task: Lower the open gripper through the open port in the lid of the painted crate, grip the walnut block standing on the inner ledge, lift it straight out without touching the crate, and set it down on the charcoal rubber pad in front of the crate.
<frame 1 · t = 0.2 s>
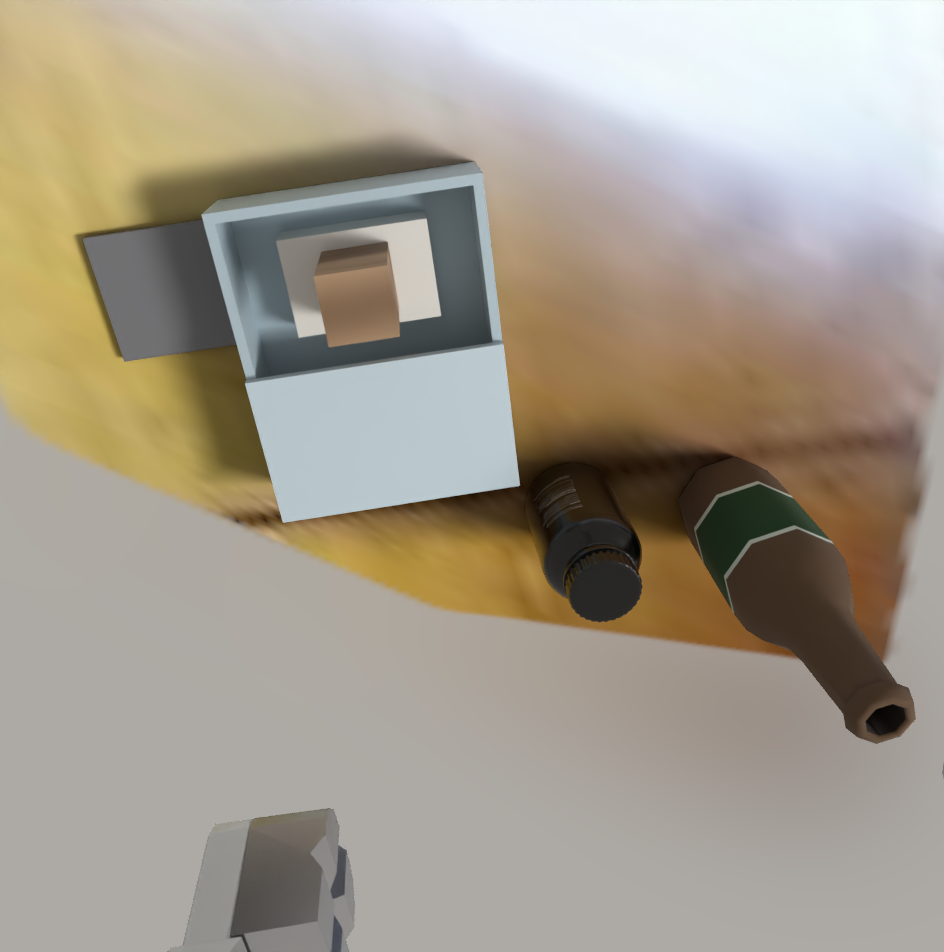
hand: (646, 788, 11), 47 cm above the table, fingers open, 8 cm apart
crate: (375, 335, 56), on the table
beer bottle: (723, 497, 65), on the table
pad: (168, 290, 54), on the table
supplement bottle: (568, 498, 64), on the table
walnut block: (361, 279, 51), point 3 cm above the table, touching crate
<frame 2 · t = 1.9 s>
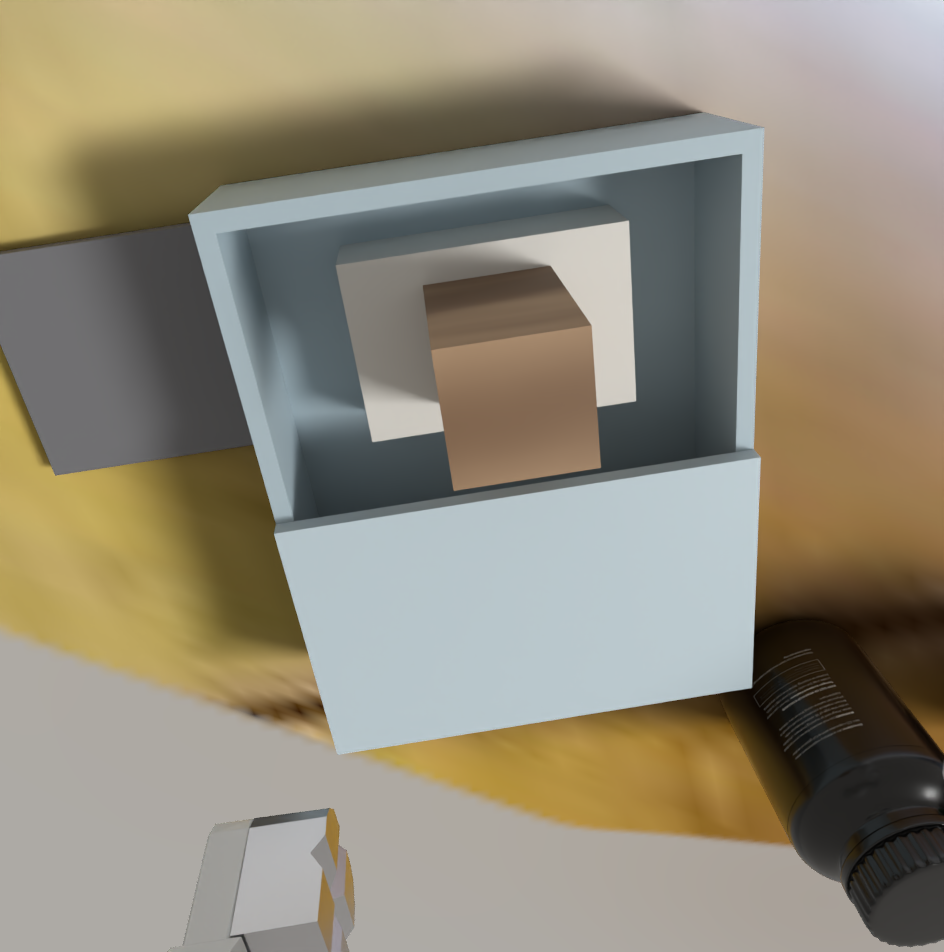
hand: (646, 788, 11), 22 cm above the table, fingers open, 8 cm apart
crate: (498, 424, 32), on the table
pad: (132, 351, 30), on the table
supplement bottle: (785, 669, 40), on the table
walnut block: (494, 337, 27), point 3 cm above the table, touching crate
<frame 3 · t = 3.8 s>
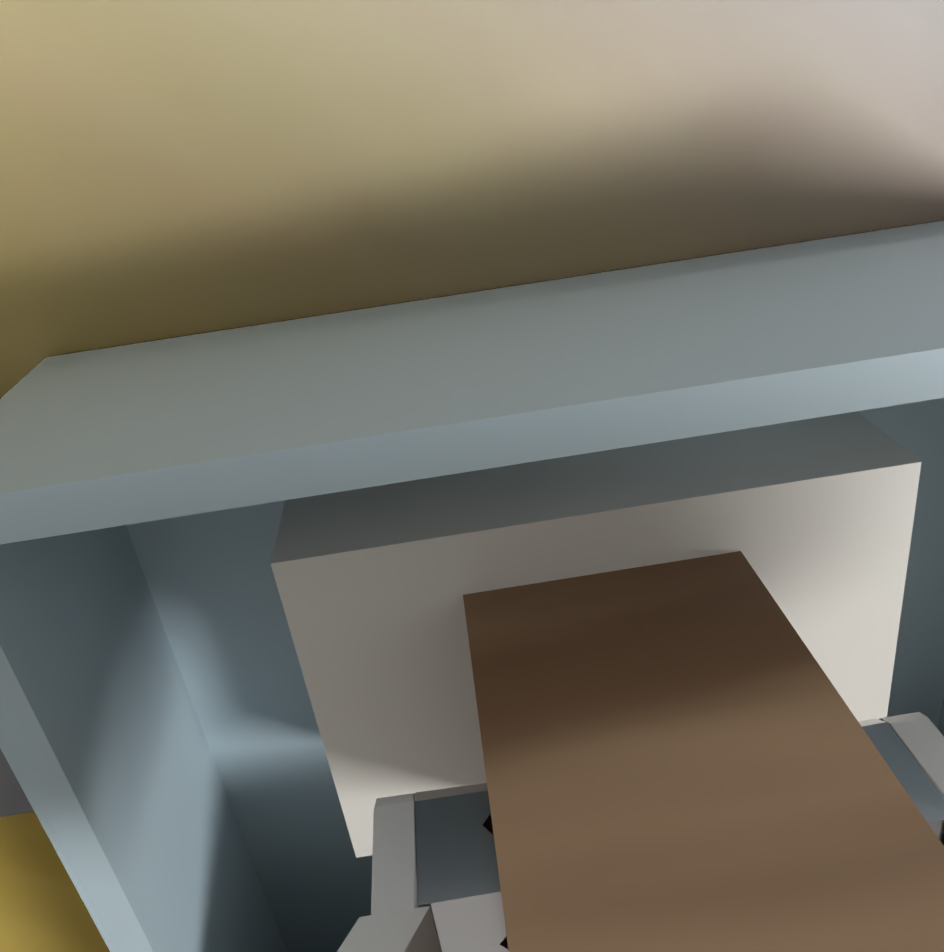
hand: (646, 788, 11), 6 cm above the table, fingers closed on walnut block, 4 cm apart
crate: (583, 737, 18), on the table
walnut block: (609, 680, 13), point 3 cm above the table, touching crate, gripper
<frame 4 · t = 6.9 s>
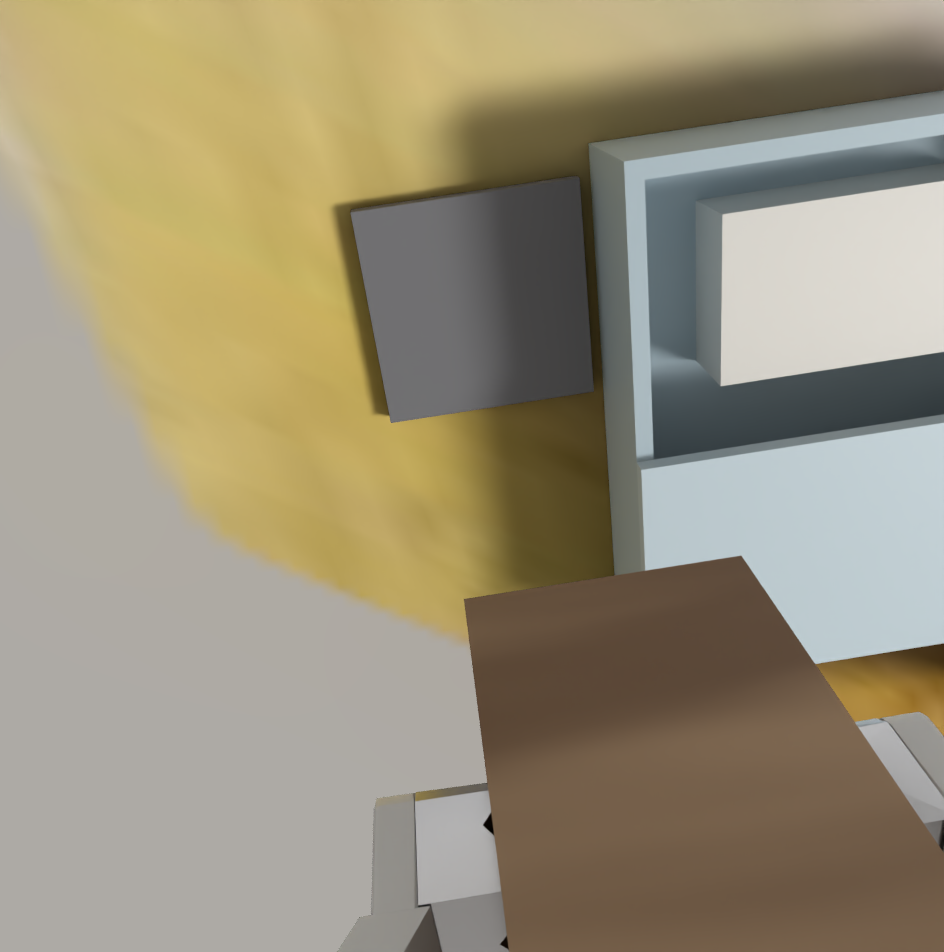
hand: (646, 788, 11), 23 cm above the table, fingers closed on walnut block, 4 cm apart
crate: (799, 376, 34), on the table
pad: (478, 303, 31), on the table
walnut block: (610, 684, 13), point 21 cm above the table, touching gripper
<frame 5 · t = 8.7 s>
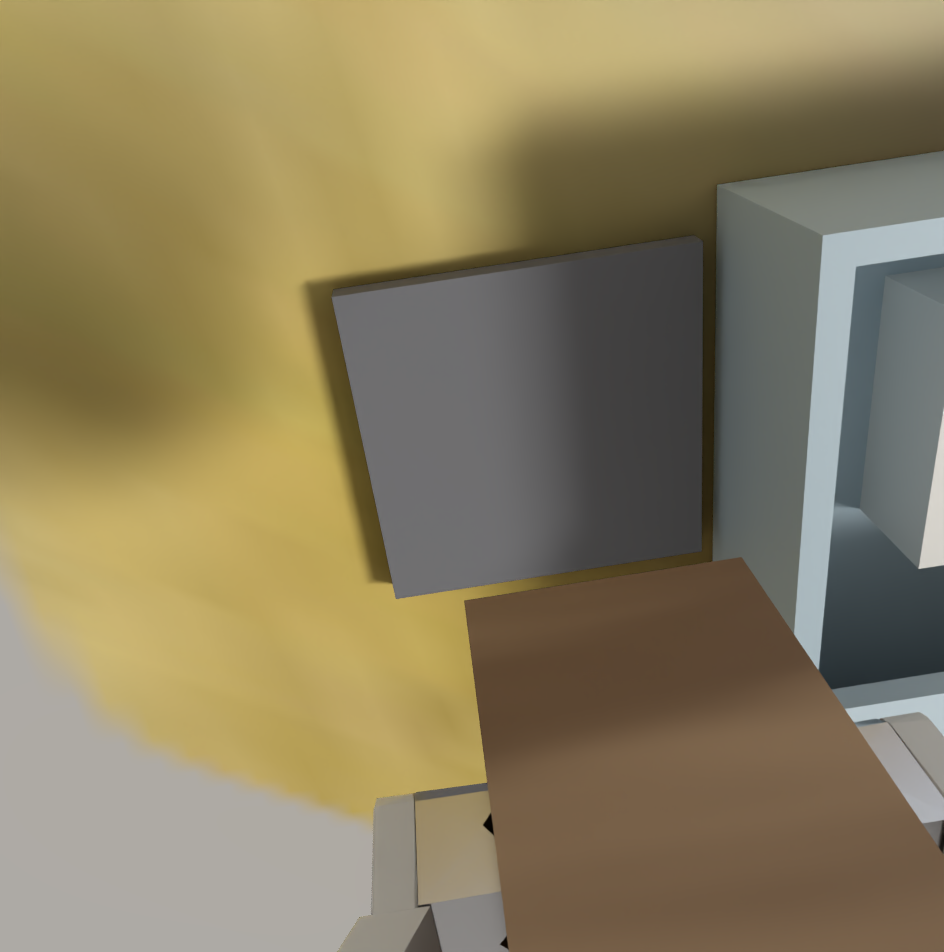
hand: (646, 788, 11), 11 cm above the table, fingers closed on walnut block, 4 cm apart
pad: (531, 426, 20), on the table
walnut block: (610, 685, 13), point 9 cm above the table, touching gripper
when the fingers open (4 cm above the table, at t = 10.1 s): walnut block drops 2 cm, resting on pad.
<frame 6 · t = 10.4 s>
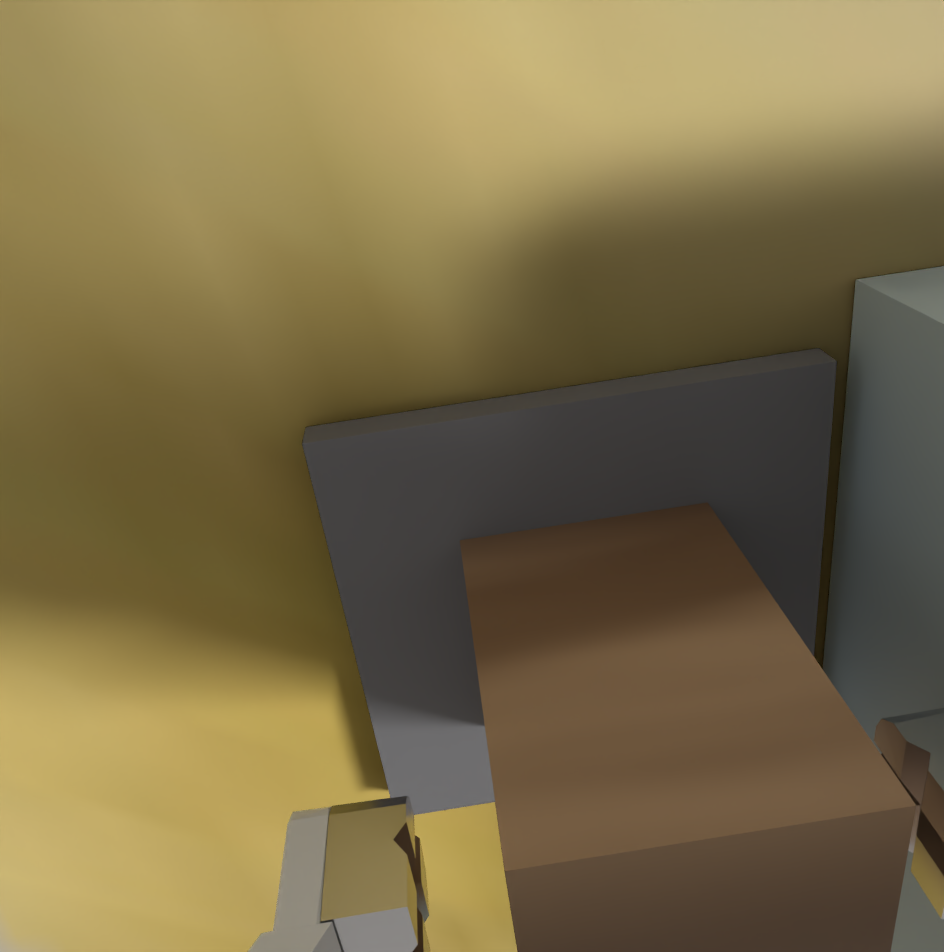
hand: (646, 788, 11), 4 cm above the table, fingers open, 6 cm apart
pad: (581, 597, 15), on the table
walnut block: (591, 621, 14), point 1 cm above the table, touching pad
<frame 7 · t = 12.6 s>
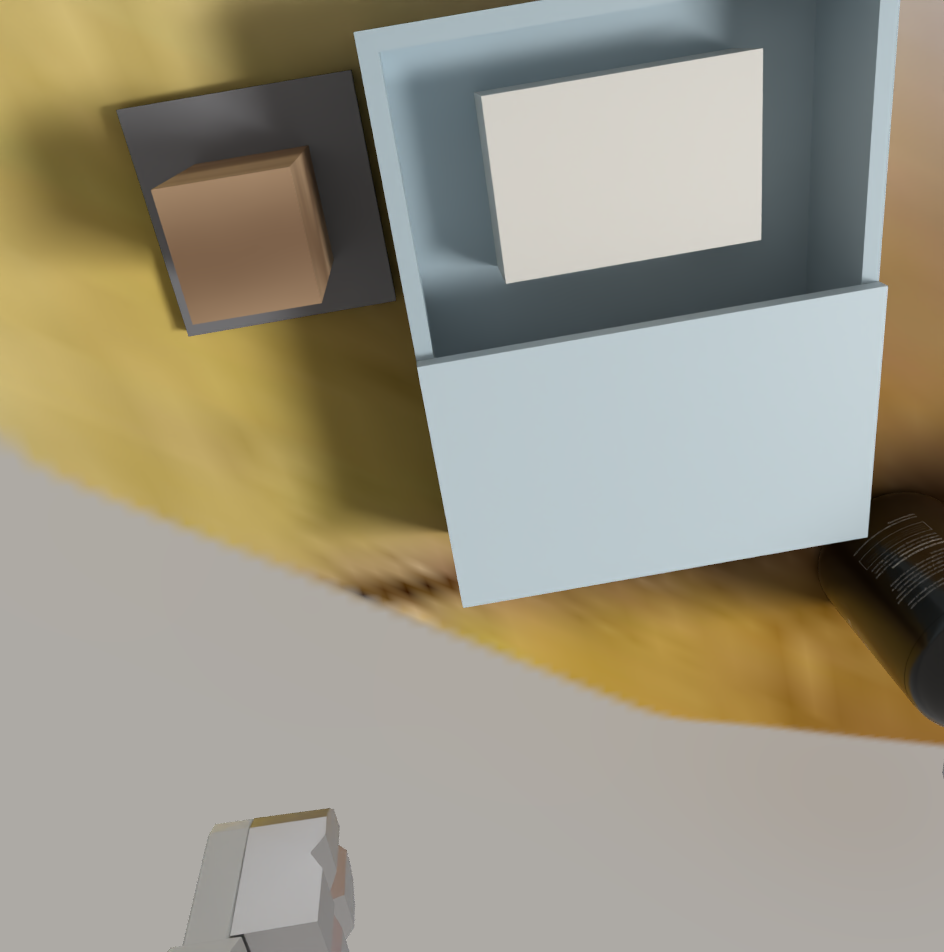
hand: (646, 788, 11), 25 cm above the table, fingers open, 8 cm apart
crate: (613, 284, 33), on the table
pad: (266, 208, 31), on the table
supplement bottle: (881, 547, 40), on the table
walnut block: (266, 213, 30), point 1 cm above the table, touching pad
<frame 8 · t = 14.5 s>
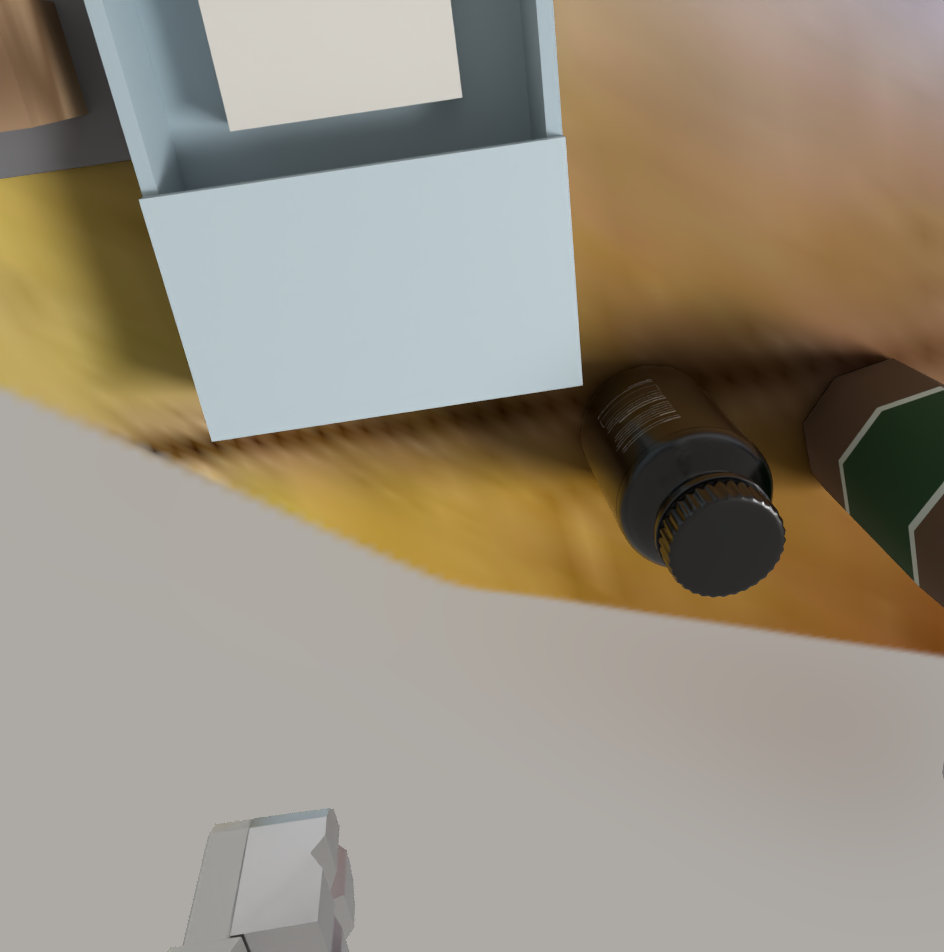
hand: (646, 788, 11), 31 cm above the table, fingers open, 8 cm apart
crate: (358, 150, 36), on the table
beer bottle: (866, 422, 45), on the table
pad: (25, 64, 34), on the table
supplement bottle: (642, 422, 43), on the table
walnut block: (21, 66, 33), point 1 cm above the table, touching pad
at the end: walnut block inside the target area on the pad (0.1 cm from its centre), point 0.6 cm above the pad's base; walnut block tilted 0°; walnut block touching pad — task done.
